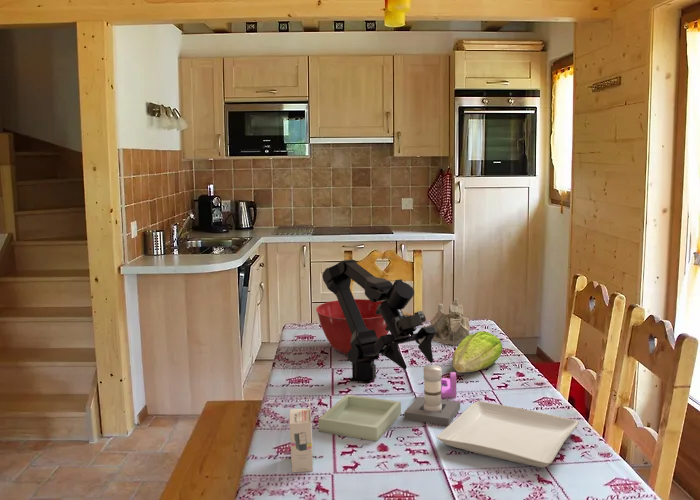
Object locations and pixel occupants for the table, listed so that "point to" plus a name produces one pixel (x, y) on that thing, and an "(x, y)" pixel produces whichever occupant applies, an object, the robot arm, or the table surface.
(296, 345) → the table surface
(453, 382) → the bracket
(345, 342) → the mixing bowl
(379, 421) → the tray
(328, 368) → the table surface
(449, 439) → the square plate
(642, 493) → the table surface
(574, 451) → the table surface
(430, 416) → the fuse holder
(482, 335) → the lettuce
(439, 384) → the cream salt shaker
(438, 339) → the ceramic cottage
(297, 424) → the ink box
